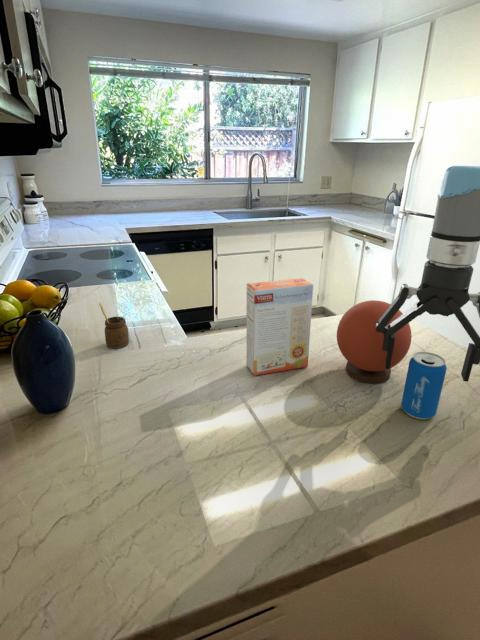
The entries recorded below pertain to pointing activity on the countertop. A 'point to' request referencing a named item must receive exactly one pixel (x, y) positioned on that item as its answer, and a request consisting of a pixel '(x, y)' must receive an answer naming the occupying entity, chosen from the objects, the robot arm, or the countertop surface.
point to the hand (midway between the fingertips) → (424, 371)
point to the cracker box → (278, 325)
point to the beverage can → (423, 385)
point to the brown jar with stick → (116, 331)
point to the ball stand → (369, 342)
